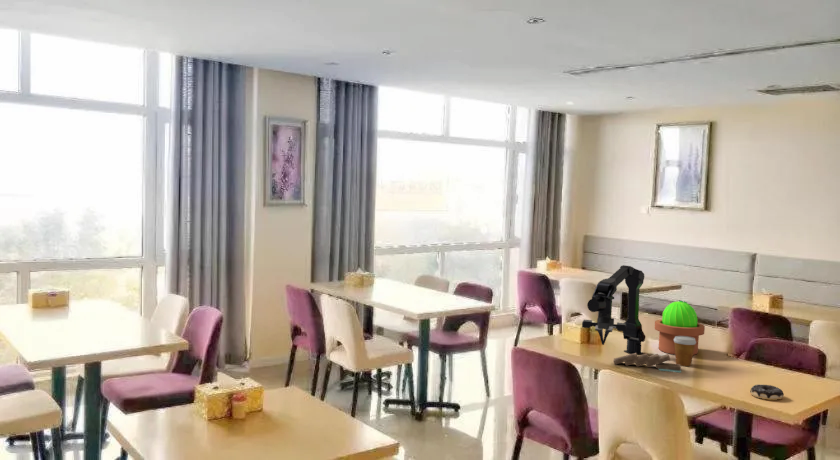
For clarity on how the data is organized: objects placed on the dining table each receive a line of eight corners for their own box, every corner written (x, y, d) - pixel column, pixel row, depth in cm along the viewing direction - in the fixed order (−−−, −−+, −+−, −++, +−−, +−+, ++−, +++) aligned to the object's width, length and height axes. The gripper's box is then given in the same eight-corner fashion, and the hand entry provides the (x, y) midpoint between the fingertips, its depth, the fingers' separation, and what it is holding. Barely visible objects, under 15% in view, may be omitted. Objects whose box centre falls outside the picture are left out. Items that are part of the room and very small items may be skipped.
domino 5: (656, 364, 304) (680, 367, 301) (656, 361, 309) (680, 364, 306) (655, 368, 305) (680, 370, 302) (655, 365, 309) (680, 368, 306)
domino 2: (624, 362, 308) (647, 355, 305) (625, 359, 313) (647, 353, 310) (625, 365, 308) (648, 359, 305) (626, 363, 313) (648, 356, 310)
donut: (788, 398, 268) (789, 388, 267) (772, 403, 261) (772, 393, 261) (760, 391, 277) (761, 381, 276) (743, 395, 270) (744, 385, 270)
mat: (658, 370, 303) (658, 369, 303) (658, 365, 310) (658, 364, 310) (681, 372, 300) (681, 371, 300) (680, 368, 308) (680, 367, 308)
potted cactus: (670, 357, 327) (674, 304, 325) (645, 346, 348) (647, 296, 346) (712, 356, 332) (715, 303, 330) (684, 345, 353) (687, 296, 352)
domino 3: (635, 363, 307) (657, 356, 304) (635, 360, 312) (657, 353, 309) (636, 367, 307) (659, 359, 304) (637, 364, 312) (659, 356, 309)
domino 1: (613, 361, 310) (636, 355, 307) (613, 358, 315) (636, 352, 312) (614, 364, 310) (637, 358, 307) (615, 362, 315) (637, 356, 311)
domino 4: (645, 363, 306) (668, 356, 303) (646, 361, 311) (668, 353, 307) (647, 367, 306) (670, 359, 303) (647, 364, 310) (669, 357, 307)
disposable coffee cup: (691, 362, 319) (692, 336, 318) (697, 367, 309) (699, 340, 308) (669, 361, 320) (671, 335, 319) (675, 366, 310) (676, 339, 309)
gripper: (581, 310, 307) (580, 346, 308) (626, 314, 302) (624, 350, 303) (583, 306, 318) (582, 341, 319) (627, 310, 312) (625, 345, 313)
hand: (603, 344), depth 313 cm, fingers closed
